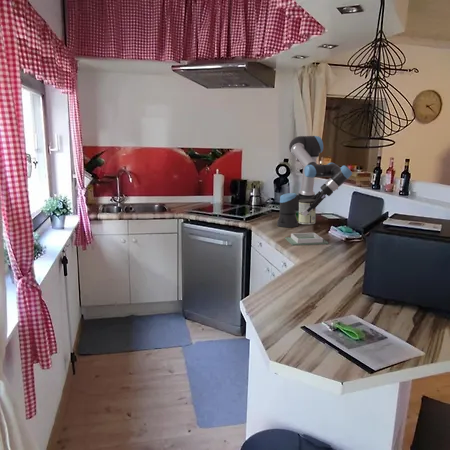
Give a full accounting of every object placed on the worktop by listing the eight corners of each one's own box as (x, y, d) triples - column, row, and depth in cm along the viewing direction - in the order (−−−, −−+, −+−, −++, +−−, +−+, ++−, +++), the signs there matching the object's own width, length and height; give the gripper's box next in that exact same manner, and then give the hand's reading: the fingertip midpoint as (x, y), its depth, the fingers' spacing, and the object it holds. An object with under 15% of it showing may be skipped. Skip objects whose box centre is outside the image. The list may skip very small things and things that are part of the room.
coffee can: (299, 220, 254) (300, 198, 251) (316, 221, 251) (317, 199, 248) (297, 223, 245) (297, 200, 242) (314, 224, 241) (315, 201, 239)
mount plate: (285, 238, 257) (285, 233, 257) (318, 237, 260) (319, 232, 259) (292, 245, 241) (292, 239, 240) (328, 244, 243) (328, 238, 243)
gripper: (337, 194, 232) (308, 221, 236) (330, 189, 254) (304, 214, 258) (328, 185, 231) (299, 212, 236) (321, 181, 253) (295, 206, 258)
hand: (302, 213), depth 247 cm, fingers closed on coffee can, 10 cm apart
